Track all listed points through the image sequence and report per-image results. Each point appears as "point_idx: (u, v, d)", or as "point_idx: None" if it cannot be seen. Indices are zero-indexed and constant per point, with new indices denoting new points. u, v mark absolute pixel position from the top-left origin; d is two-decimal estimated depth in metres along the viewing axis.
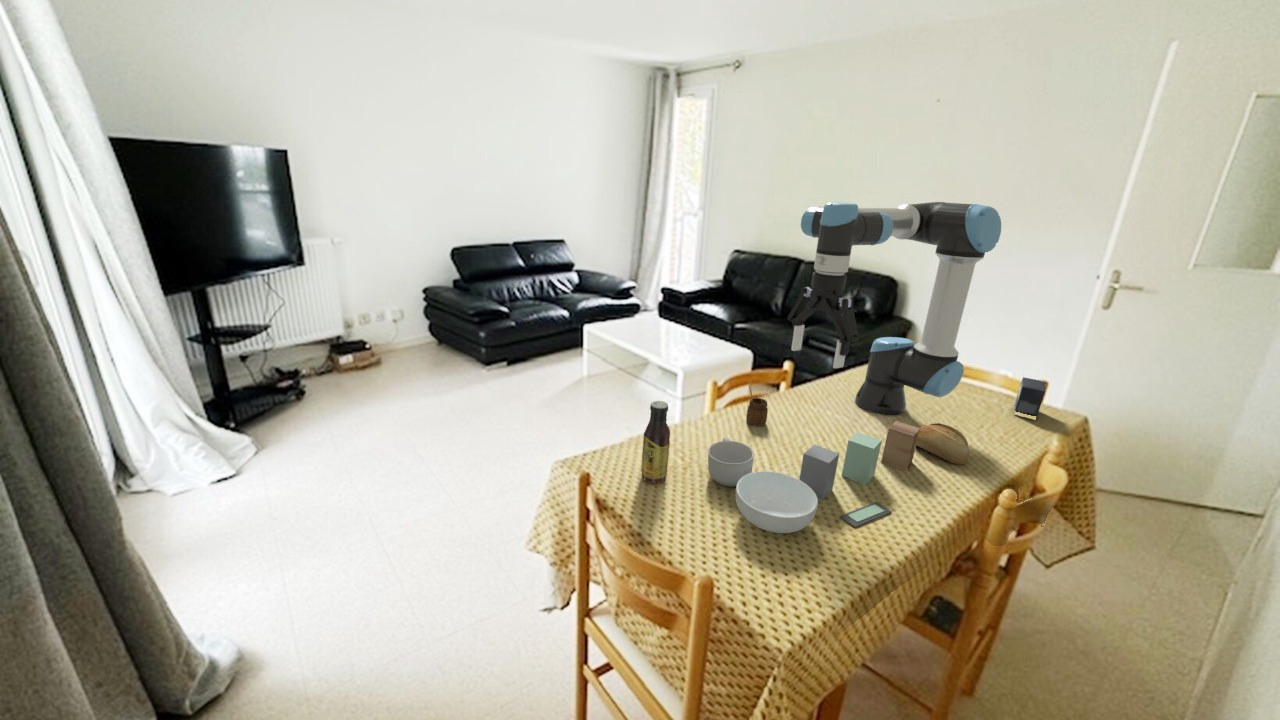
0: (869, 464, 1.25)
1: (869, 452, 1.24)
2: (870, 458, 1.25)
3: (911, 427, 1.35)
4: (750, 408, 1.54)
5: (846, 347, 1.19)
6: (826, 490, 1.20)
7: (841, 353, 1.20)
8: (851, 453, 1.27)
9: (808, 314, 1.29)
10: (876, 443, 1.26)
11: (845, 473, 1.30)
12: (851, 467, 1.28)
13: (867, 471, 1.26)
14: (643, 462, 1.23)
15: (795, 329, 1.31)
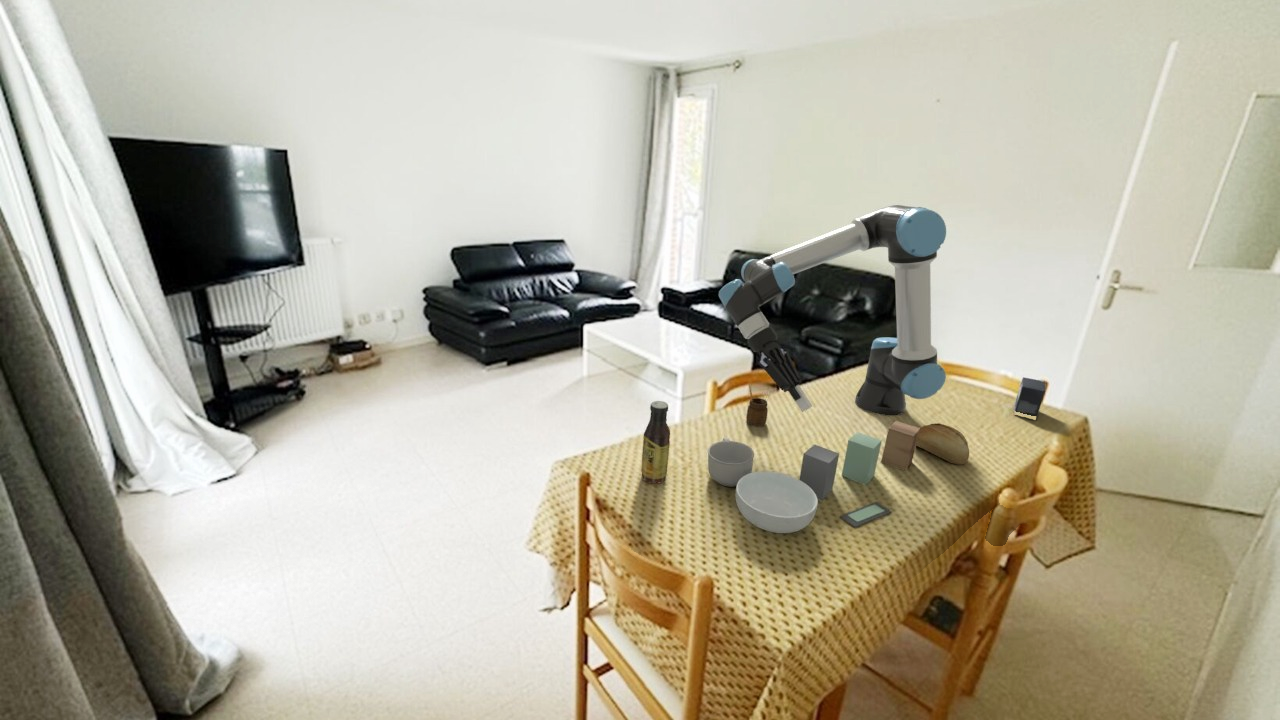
0: (869, 464, 1.25)
1: (869, 452, 1.24)
2: (870, 458, 1.25)
3: (911, 427, 1.35)
4: (750, 408, 1.54)
5: (791, 393, 1.35)
6: (826, 490, 1.20)
7: None
8: (851, 453, 1.27)
9: None
10: (876, 443, 1.26)
11: (845, 473, 1.30)
12: (851, 467, 1.28)
13: (867, 471, 1.26)
14: (643, 462, 1.23)
15: None
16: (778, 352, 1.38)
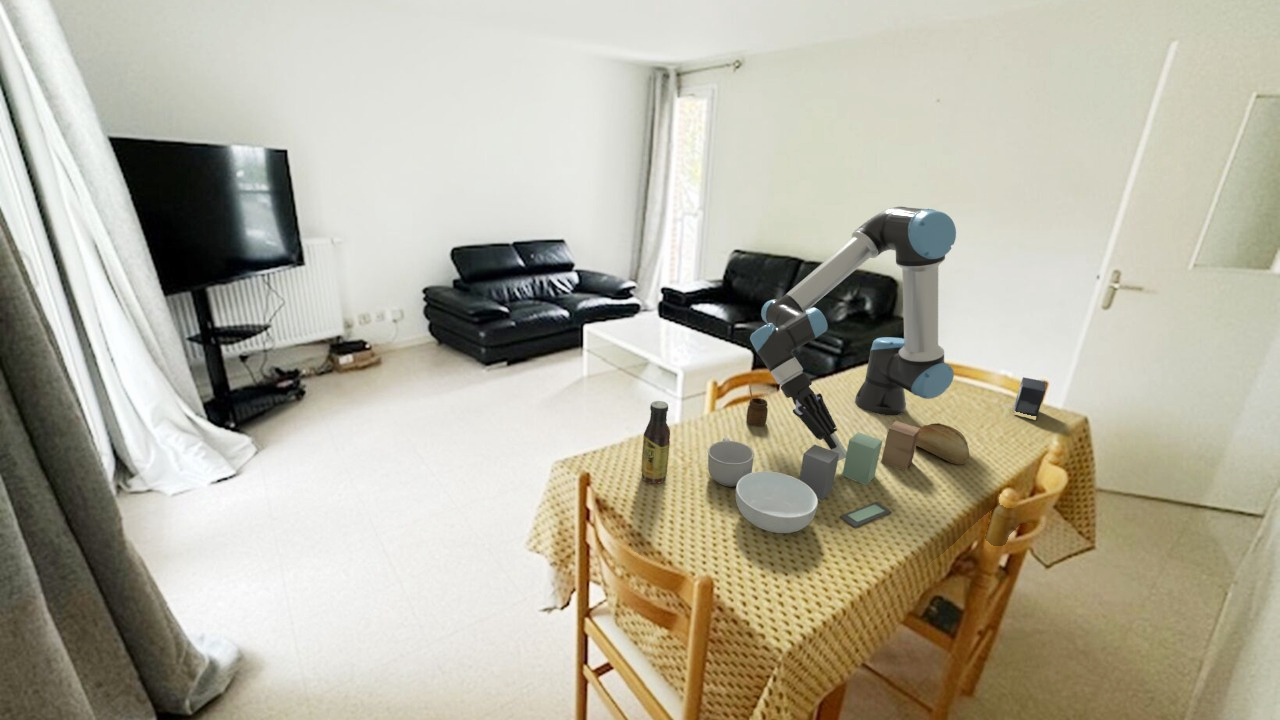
0: (870, 464, 1.25)
1: (870, 453, 1.24)
2: (871, 458, 1.24)
3: (911, 427, 1.35)
4: (750, 408, 1.54)
5: (827, 442, 1.32)
6: (826, 490, 1.20)
7: None
8: (851, 453, 1.27)
9: (819, 418, 1.34)
10: (877, 443, 1.26)
11: (846, 473, 1.30)
12: (851, 467, 1.28)
13: (868, 471, 1.26)
14: (643, 462, 1.23)
15: None
16: (812, 399, 1.34)
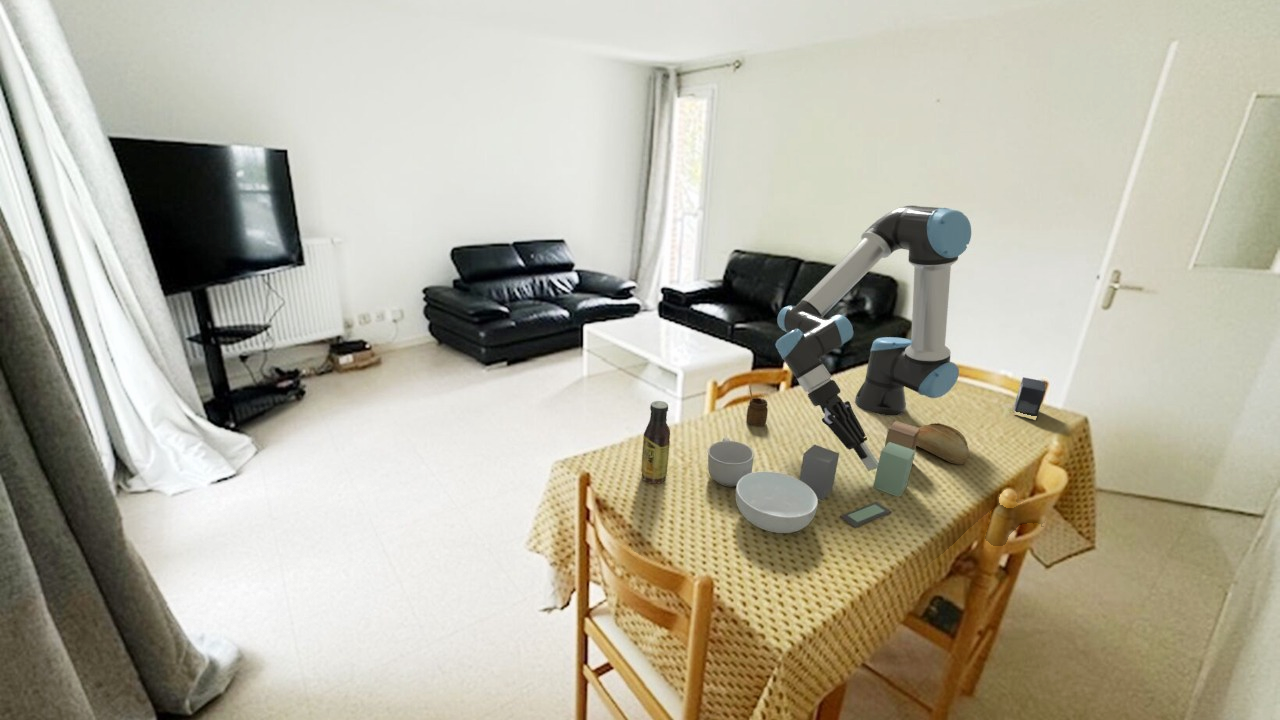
0: (903, 476, 1.21)
1: (904, 464, 1.20)
2: (904, 469, 1.20)
3: (911, 427, 1.35)
4: (750, 408, 1.54)
5: (857, 452, 1.27)
6: (826, 490, 1.20)
7: None
8: (884, 464, 1.23)
9: None
10: (910, 454, 1.22)
11: (877, 484, 1.25)
12: (883, 478, 1.24)
13: (901, 483, 1.21)
14: (643, 462, 1.23)
15: None
16: (841, 407, 1.30)
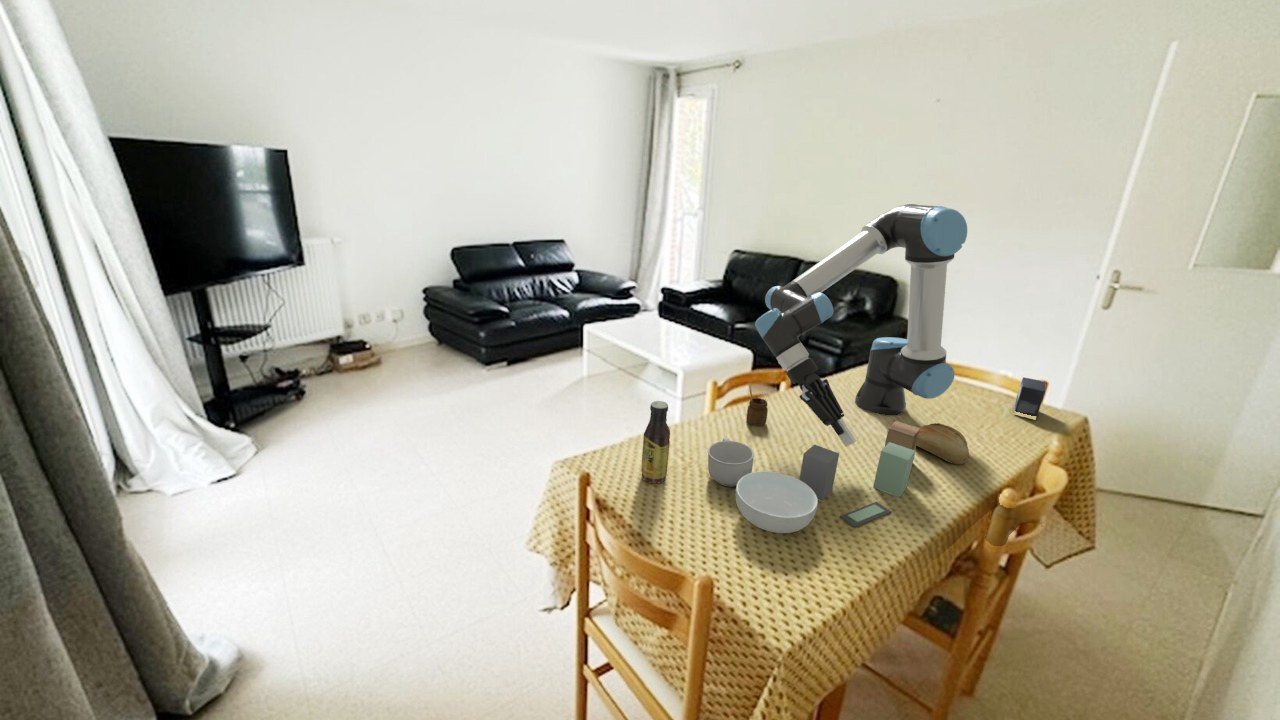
0: (903, 476, 1.21)
1: (903, 464, 1.20)
2: (904, 470, 1.20)
3: (911, 427, 1.35)
4: (750, 408, 1.54)
5: (834, 428, 1.30)
6: (826, 490, 1.20)
7: None
8: (883, 464, 1.23)
9: None
10: (910, 454, 1.22)
11: (877, 485, 1.25)
12: (883, 478, 1.24)
13: (901, 483, 1.21)
14: (643, 462, 1.23)
15: None
16: (819, 384, 1.33)
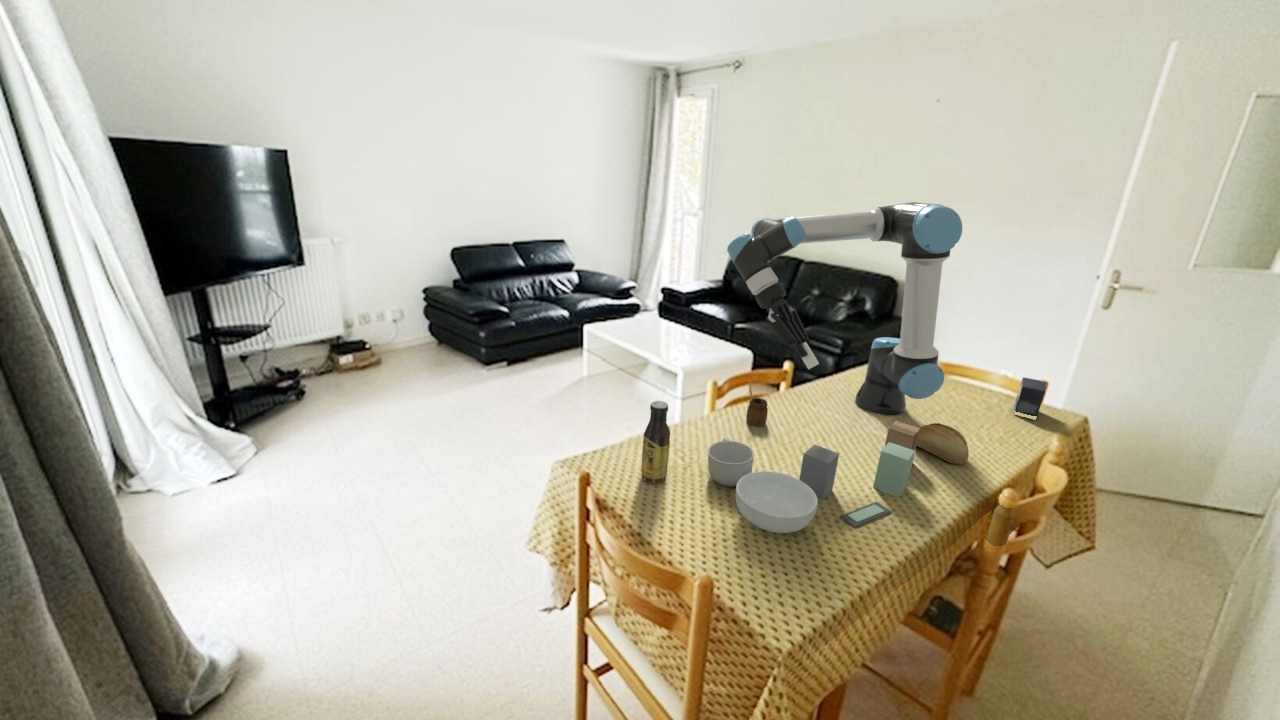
0: (903, 476, 1.21)
1: (903, 464, 1.20)
2: (904, 470, 1.20)
3: (911, 427, 1.35)
4: (750, 408, 1.54)
5: (798, 350, 1.34)
6: (826, 490, 1.20)
7: None
8: (883, 464, 1.23)
9: None
10: (910, 454, 1.22)
11: (877, 485, 1.25)
12: (883, 478, 1.24)
13: (901, 483, 1.21)
14: (643, 462, 1.23)
15: None
16: (786, 308, 1.36)
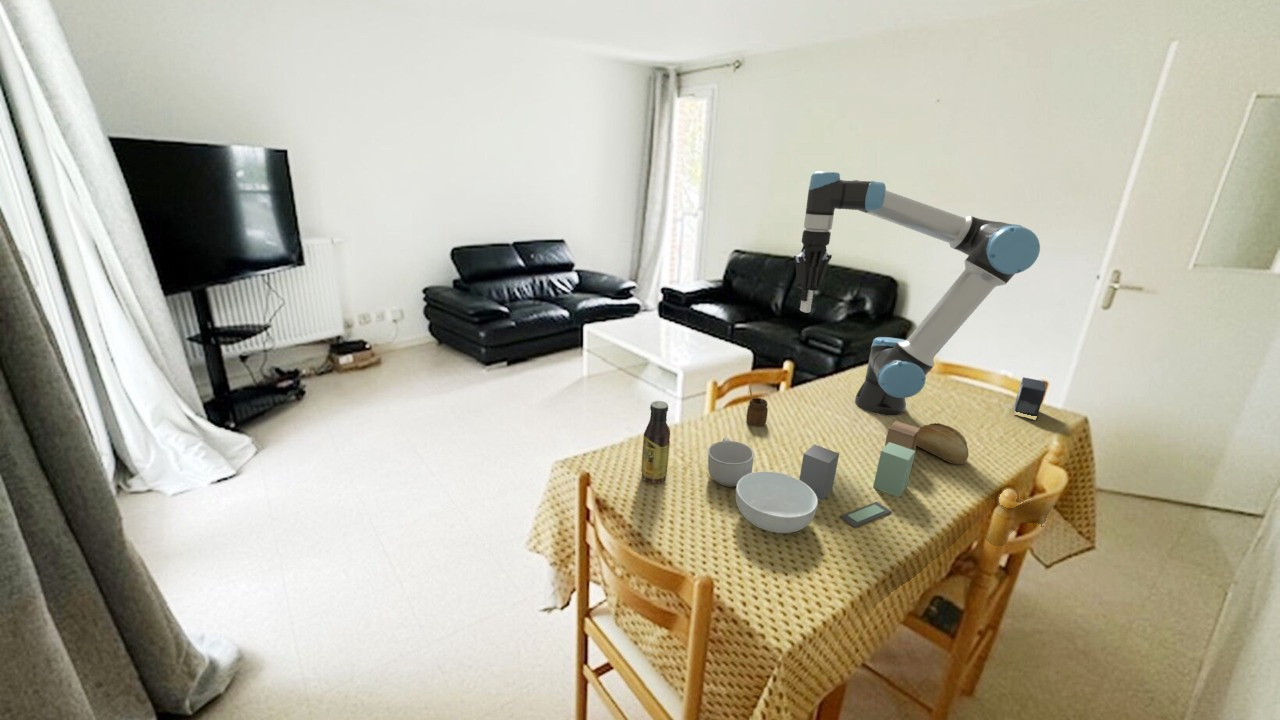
0: (903, 476, 1.21)
1: (903, 464, 1.20)
2: (904, 470, 1.20)
3: (911, 427, 1.35)
4: (750, 408, 1.54)
5: (802, 293, 1.52)
6: (826, 490, 1.20)
7: None
8: (883, 464, 1.23)
9: (812, 273, 1.51)
10: (910, 454, 1.22)
11: (877, 485, 1.25)
12: (883, 478, 1.24)
13: (901, 483, 1.21)
14: (643, 462, 1.23)
15: None
16: (819, 256, 1.48)
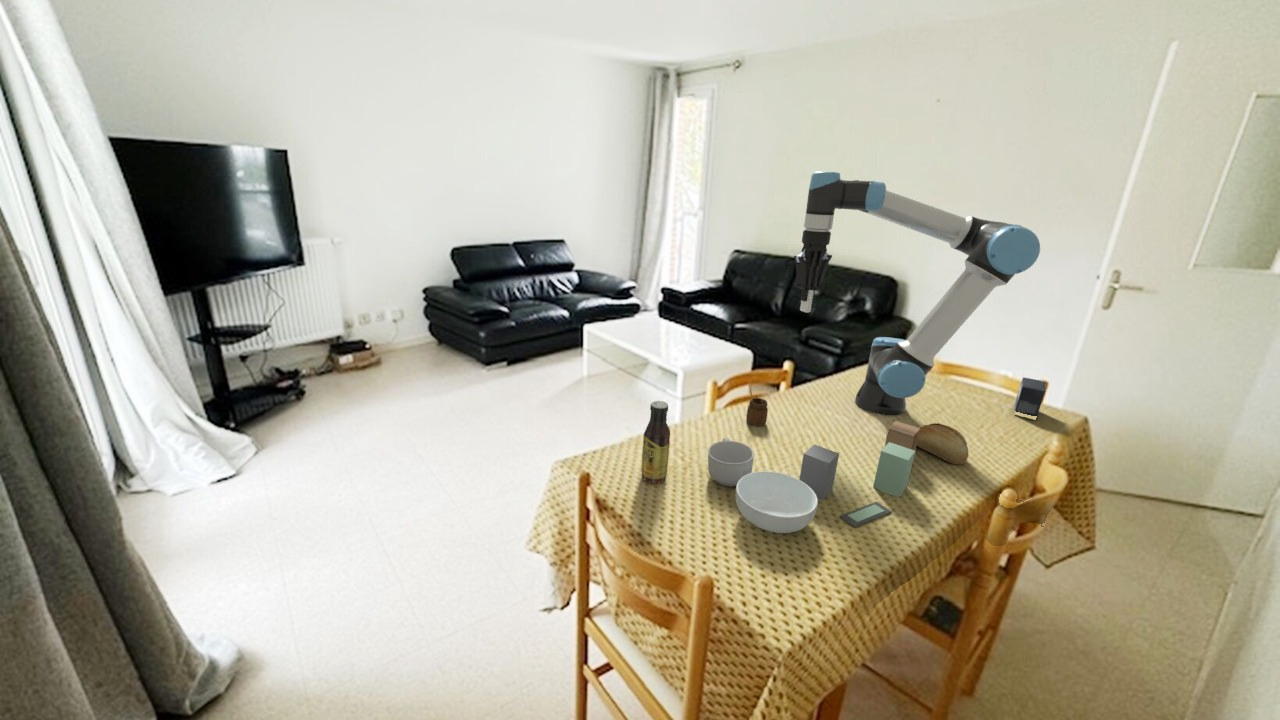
0: (903, 476, 1.21)
1: (903, 464, 1.20)
2: (904, 470, 1.20)
3: (911, 427, 1.35)
4: (750, 408, 1.54)
5: (802, 293, 1.52)
6: (826, 490, 1.20)
7: None
8: (883, 464, 1.23)
9: (812, 273, 1.51)
10: (910, 454, 1.22)
11: (877, 485, 1.25)
12: (883, 478, 1.24)
13: (901, 483, 1.21)
14: (643, 462, 1.23)
15: None
16: (819, 256, 1.48)
